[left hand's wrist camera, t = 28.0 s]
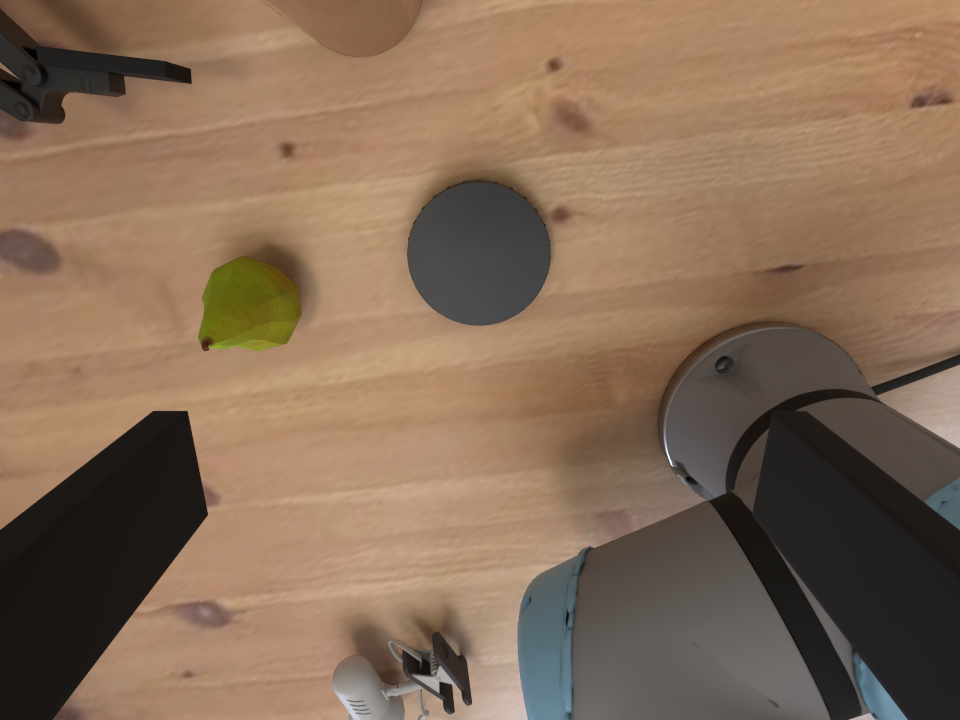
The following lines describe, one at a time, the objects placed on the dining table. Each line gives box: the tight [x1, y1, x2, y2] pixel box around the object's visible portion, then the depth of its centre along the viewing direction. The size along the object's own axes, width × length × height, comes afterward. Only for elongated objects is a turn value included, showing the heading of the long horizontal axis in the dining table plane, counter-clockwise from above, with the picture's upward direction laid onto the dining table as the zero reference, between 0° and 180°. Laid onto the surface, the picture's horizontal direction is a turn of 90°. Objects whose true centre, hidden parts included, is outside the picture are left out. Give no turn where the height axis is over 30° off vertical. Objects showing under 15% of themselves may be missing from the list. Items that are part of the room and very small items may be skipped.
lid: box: [407, 180, 551, 325], centre depth 39 cm, size 10×10×2 cm
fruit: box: [198, 257, 301, 351], centre depth 35 cm, size 6×6×12 cm
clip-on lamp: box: [332, 632, 472, 720], centre depth 52 cm, size 12×6×18 cm
